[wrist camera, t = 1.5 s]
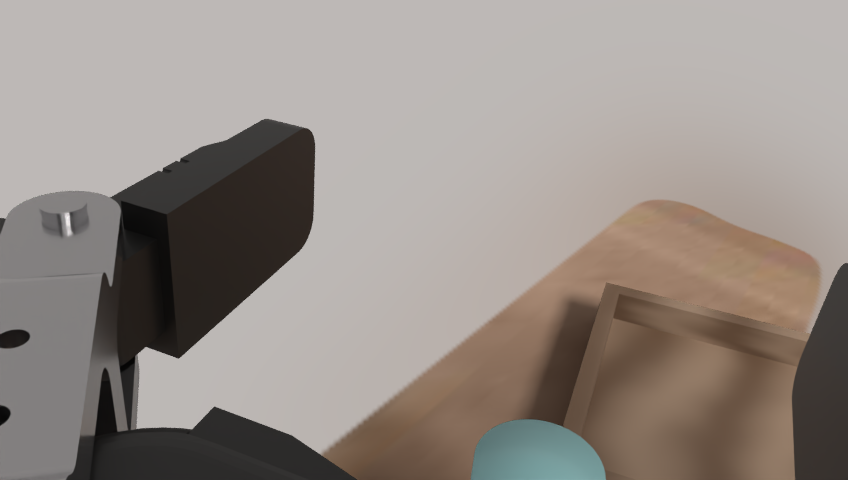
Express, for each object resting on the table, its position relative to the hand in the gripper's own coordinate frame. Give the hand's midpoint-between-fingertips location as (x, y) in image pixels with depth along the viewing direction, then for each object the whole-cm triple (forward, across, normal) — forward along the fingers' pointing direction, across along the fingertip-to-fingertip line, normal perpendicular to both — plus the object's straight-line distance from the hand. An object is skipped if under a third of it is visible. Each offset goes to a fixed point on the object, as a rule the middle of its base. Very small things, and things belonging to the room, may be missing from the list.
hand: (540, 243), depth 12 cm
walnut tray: (+27, -9, +25) cm, 38 cm away
